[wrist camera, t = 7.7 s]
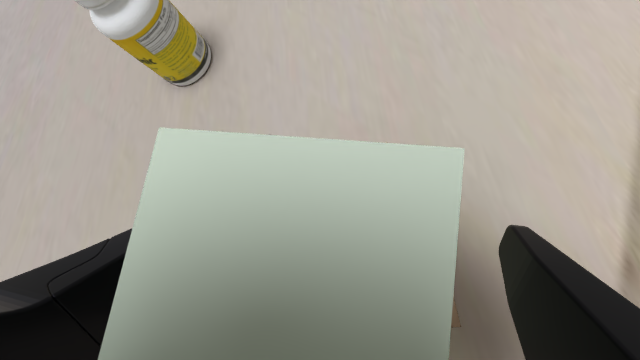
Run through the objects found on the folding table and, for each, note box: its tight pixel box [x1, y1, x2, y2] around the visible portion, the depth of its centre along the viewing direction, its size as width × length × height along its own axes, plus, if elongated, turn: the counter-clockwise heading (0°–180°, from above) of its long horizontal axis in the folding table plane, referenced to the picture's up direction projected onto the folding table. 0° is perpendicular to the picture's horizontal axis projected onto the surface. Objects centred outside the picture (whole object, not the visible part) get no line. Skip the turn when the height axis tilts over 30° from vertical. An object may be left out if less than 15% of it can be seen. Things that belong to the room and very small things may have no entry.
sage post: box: [98, 128, 464, 360], centre depth 10 cm, size 5×5×13 cm
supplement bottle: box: [75, 0, 211, 86], centre depth 21 cm, size 5×5×10 cm
